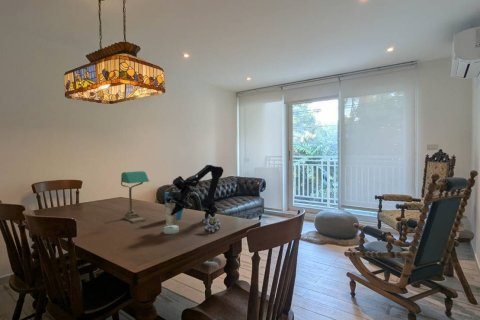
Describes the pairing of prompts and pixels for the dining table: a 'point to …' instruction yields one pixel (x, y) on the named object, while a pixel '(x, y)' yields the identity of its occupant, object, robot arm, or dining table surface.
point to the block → (178, 214)
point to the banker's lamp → (130, 178)
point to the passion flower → (211, 223)
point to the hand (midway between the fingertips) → (169, 214)
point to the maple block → (170, 218)
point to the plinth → (171, 229)
